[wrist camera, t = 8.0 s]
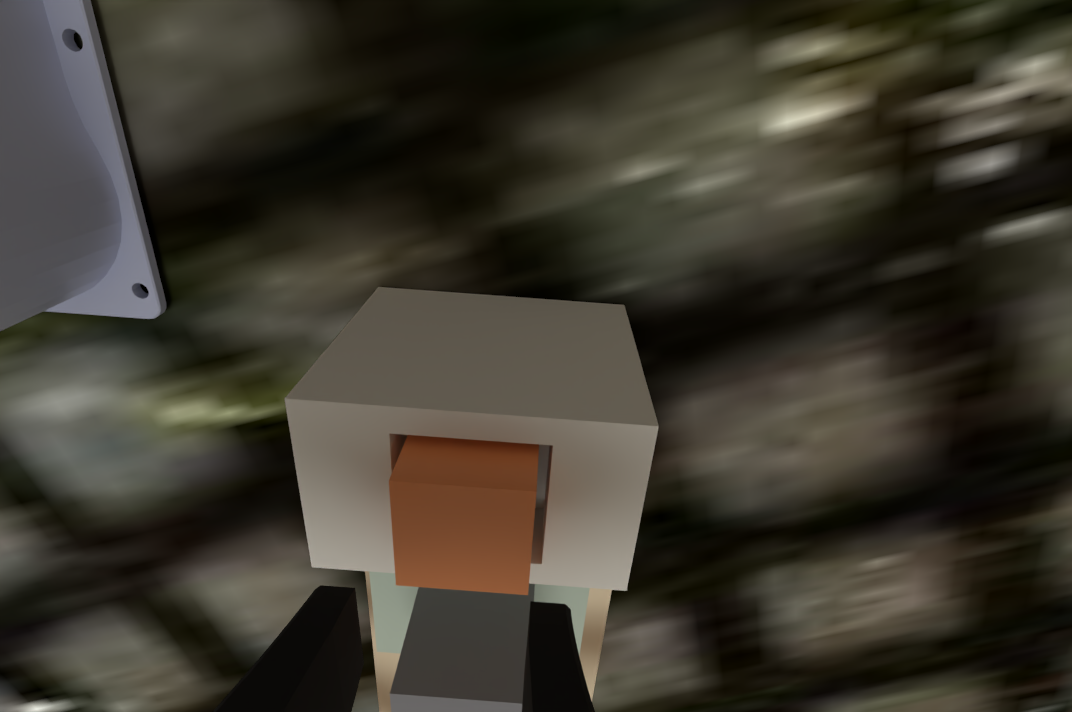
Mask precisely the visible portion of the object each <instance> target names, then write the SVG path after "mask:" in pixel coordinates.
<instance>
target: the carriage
mask: <svg viewBox="0 0 1072 712" xmlns="http://www.w3.org/2000/svg"><path fill="white" fill-rule="evenodd" d="M369 575H370V586H371V596H372V606H373V616H374V626H375V637H376V647H377V652H387V653H400V658H399V661H398V665H397V669H396V672H395V676H394V680H393V683H392V687H391V691H390V703H391V712H522V701H523V684H524V670H525V659H526V647H527V636H528V624H529V612H530V601H534V602H547V603H560V604H566V605H567V606H568V607H569V608H570V609H571V616H572V623H573V629H574V634H575V639H576V644H577V649H578V653H579V655H580V648H581V642H582V635H583V629H584V622H585V616H586V609H587V602H588V596H589V589H590V588H583V587H570V586H556V585H543V584H530V583H529V589H528V595H518V594H505V593H492V592H478V591H465V590H452V589H438V588H425V587H412V586H398V585H396V579H395V573H383V572H370V571H369Z"/></svg>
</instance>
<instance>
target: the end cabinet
mask: <svg viewBox="0 0 1072 712" xmlns="http://www.w3.org/2000/svg"><path fill="white" fill-rule="evenodd" d="M285 404H286V410H287V417H288V423H289V429H290V435H291V441H292V447H293V454H294V460H295V466H296V472H297V478H298V485H299V491H300V497H301V503H302V509H303V515H304V522H305V528H306V534H307V540H308V546H309V553H310V559H311V565H312V567H316V568H330V569H343V570H356V571H370V572H383V573H395V565H394V550H393V536H392V521H391V507H390V492H389V479H390V476H391V474H392V472H393V469H394V467H395V464H396V462H397V460H398V457H399V455H400V452H401V450H402V448H403V445H404V443H405V440H406V438H407V436H408V435H418V436H431V437H445V438H458V439H472V440H485V441H499V442H512V443H525V444H539V456H538V475H537V493H536V505H535V517H534V529H533V541H532V553H531V565H530V577H529V583H530V584H543V585H556V586H570V587H583V588H596V589H610V590H623V591H627V585H628V580H629V575H630V570H631V565H632V560H633V555H634V550H635V545H636V540H637V534H638V529H639V524H640V519H641V514H642V509H643V504H644V499H645V494H646V488H647V483H648V478H649V473H650V468H651V463H652V458H653V453H654V448H655V442H656V437H657V432H658V427H659V426H658V422H657V419H656V415H655V412H654V408H653V405H652V401H651V397H650V394H649V390H648V387H647V383H646V380H645V376H644V373H643V369H642V366H641V362H640V359H639V355H638V351H637V348H636V344H635V341H634V337H633V334H632V330H631V327H630V323H629V320H628V316H627V313H626V309H625V305H619V304H605V303H592V302H578V301H565V300H551V299H537V298H524V297H510V296H496V295H483V294H469V293H456V292H442V291H428V290H415V289H401V288H388V287H378V288H377V289H376V290H375V292H374V293H373V294H372V295H371V296H370V298H369V299H368V300H367V301H366V302H365V303H364V305H363V306H362V307H361V308H360V309H359V311H358V312H357V313H356V314H355V315H354V317H353V318H352V319H351V320H350V321H349V323H348V324H347V325H346V326H345V327H344V328H343V330H342V331H341V332H340V333H339V334H338V336H337V337H336V338H335V339H334V340H333V342H332V343H331V344H330V345H329V346H328V348H327V349H326V350H325V351H324V352H323V353H322V355H321V356H320V357H319V358H318V359H317V361H316V362H315V363H314V364H313V365H312V367H311V368H310V369H309V370H308V371H307V373H306V374H305V375H304V376H303V377H302V379H301V380H300V381H299V382H298V383H297V384H296V386H295V387H294V388H293V389H292V390H291V392H290V393H289V394H288V395H287V396H286V398H285Z"/></svg>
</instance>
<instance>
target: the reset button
mask: <svg viewBox="0 0 1072 712" xmlns="http://www.w3.org/2000/svg"><path fill="white" fill-rule="evenodd" d="M538 456H539V444H525V443H512V442H499V441H485V440H472V439H458V438H445V437H431V436H418V435H408V436H407V438H406V440H405V443H404V445H403V448H402V450H401V452H400V455H399V457H398V460H397V462H396V464H395V467H394V469H393V472H392V474H391V476H390V479H389V492H390V507H391V521H392V536H393V550H394V565H395V579H396V585H398V586H412V587H425V588H438V589H452V590H465V591H478V592H492V593H505V594H518V595H528V589H529V577H530V565H531V553H532V541H533V529H534V517H535V505H536V493H537V475H538Z"/></svg>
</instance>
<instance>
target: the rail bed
mask: <svg viewBox="0 0 1072 712" xmlns="http://www.w3.org/2000/svg"><path fill="white" fill-rule="evenodd" d="M365 574H366V584H367V594H368V603H369V613H370V623H371V633H372V642H373V652H374V662H375V672H376V681H377V691H378V701H379V711H380V712H391V703H390V691H391V687H392V683H393V680H394V676H395V672H396V669H397V665H398V661H399V658H400V653H387V652H377V647H376V637H375V626H374V616H373V606H372V596H371V586H370V575H369V571H365ZM611 591H612V590H610V589H596V588H590V589H589V596H588V602H587V609H586V616H585V622H584V629H583V635H582V642H581V648H580V655H579V657H580V661H581V665H582V669H583V673H584V676H585V680H586V684H587V687H588V691H589V694H590V698H591V701H592V698H593V692H594V686H595V681H596V675H597V670H598V664H599V658H600V653H601V647H602V642H603V636H604V630H605V625H606V619H607V614H608V608H609V602H610V597H611Z"/></svg>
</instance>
